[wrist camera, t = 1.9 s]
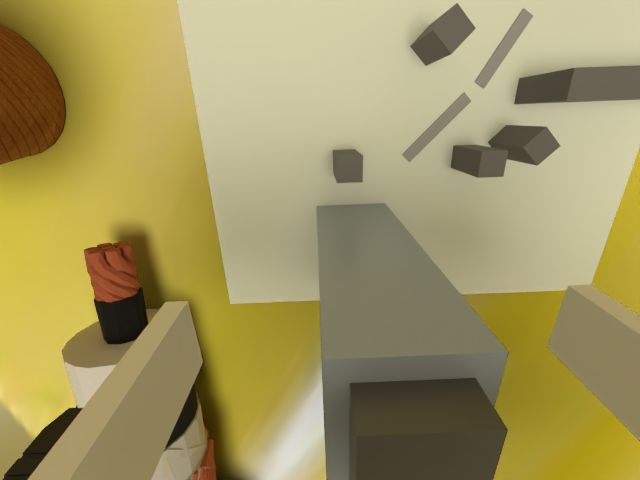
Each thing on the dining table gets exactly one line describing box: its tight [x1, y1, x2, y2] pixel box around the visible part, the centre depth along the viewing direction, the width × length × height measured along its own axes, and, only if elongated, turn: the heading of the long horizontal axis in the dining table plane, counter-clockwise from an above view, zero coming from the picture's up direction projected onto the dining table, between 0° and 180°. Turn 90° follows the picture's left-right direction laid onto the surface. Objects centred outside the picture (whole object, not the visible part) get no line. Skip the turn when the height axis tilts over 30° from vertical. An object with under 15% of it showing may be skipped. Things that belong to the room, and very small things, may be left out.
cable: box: [62, 242, 216, 480], centre depth 21 cm, size 10×34×10 cm, turn 1°
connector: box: [317, 203, 509, 480], centre depth 12 cm, size 5×4×13 cm
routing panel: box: [177, 0, 640, 304], centre depth 15 cm, size 20×24×4 cm
